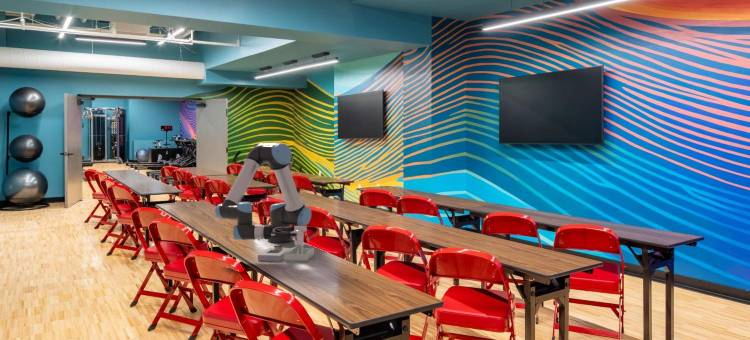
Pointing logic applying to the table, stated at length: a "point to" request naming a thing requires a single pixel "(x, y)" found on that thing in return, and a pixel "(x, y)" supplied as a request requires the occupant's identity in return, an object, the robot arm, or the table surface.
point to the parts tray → (298, 255)
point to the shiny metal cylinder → (299, 243)
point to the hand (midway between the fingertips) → (305, 231)
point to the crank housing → (273, 254)
